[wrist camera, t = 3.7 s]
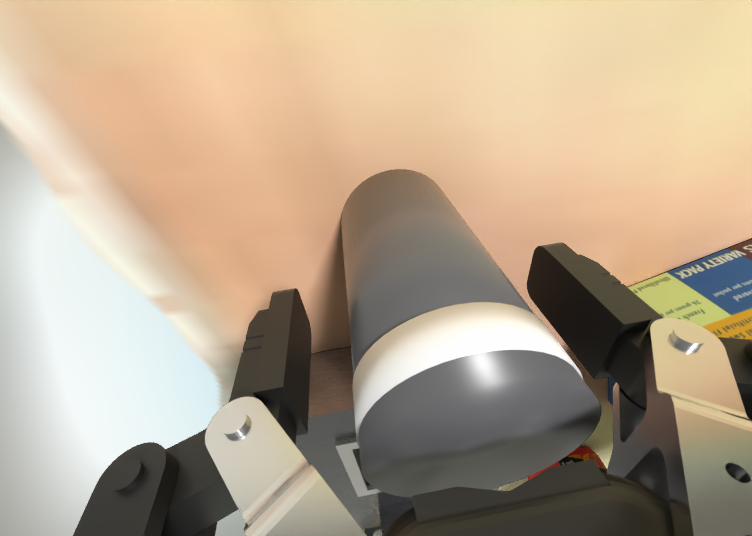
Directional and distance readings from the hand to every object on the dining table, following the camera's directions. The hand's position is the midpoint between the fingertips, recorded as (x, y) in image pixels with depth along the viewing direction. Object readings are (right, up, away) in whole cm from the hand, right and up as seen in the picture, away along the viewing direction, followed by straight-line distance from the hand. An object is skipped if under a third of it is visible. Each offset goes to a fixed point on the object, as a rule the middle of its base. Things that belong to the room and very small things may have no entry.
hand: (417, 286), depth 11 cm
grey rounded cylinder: (-1, +3, +4) cm, 5 cm away
